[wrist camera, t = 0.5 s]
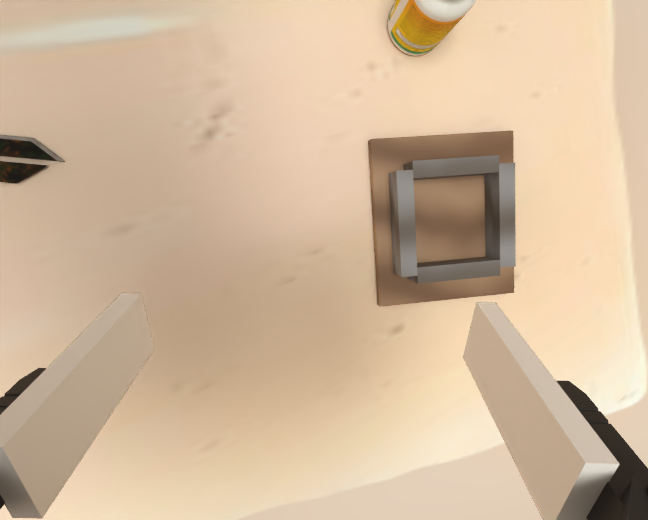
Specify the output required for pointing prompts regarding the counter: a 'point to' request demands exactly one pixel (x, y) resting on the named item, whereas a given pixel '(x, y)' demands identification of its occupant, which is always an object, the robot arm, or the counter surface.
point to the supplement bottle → (424, 22)
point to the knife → (23, 149)
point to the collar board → (443, 216)
